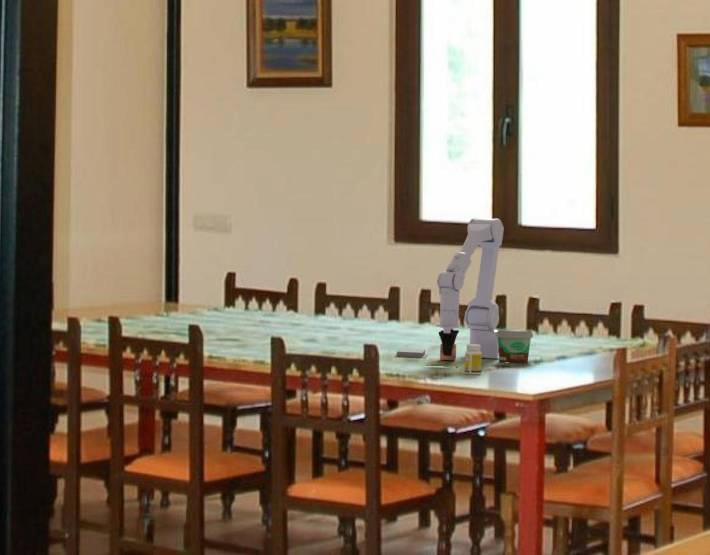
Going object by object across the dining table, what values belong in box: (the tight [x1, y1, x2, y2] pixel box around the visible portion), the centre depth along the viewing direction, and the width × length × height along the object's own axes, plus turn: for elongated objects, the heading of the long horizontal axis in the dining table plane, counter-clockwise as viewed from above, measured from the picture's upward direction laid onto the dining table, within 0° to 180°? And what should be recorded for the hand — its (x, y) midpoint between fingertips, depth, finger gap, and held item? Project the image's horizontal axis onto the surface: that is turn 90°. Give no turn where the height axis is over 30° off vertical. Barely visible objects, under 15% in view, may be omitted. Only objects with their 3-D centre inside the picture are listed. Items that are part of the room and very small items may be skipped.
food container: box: [496, 328, 534, 364], centre depth 430 cm, size 12×6×10 cm, turn 114°
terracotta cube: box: [439, 343, 457, 361], centre depth 426 cm, size 4×4×4 cm
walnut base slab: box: [392, 352, 429, 359], centre depth 434 cm, size 10×10×2 cm
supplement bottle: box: [464, 343, 483, 376], centre depth 401 cm, size 5×5×8 cm
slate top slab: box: [396, 348, 426, 359], centre depth 434 cm, size 8×8×2 cm
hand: (448, 354), depth 426 cm, fingers closed on terracotta cube, 4 cm apart
